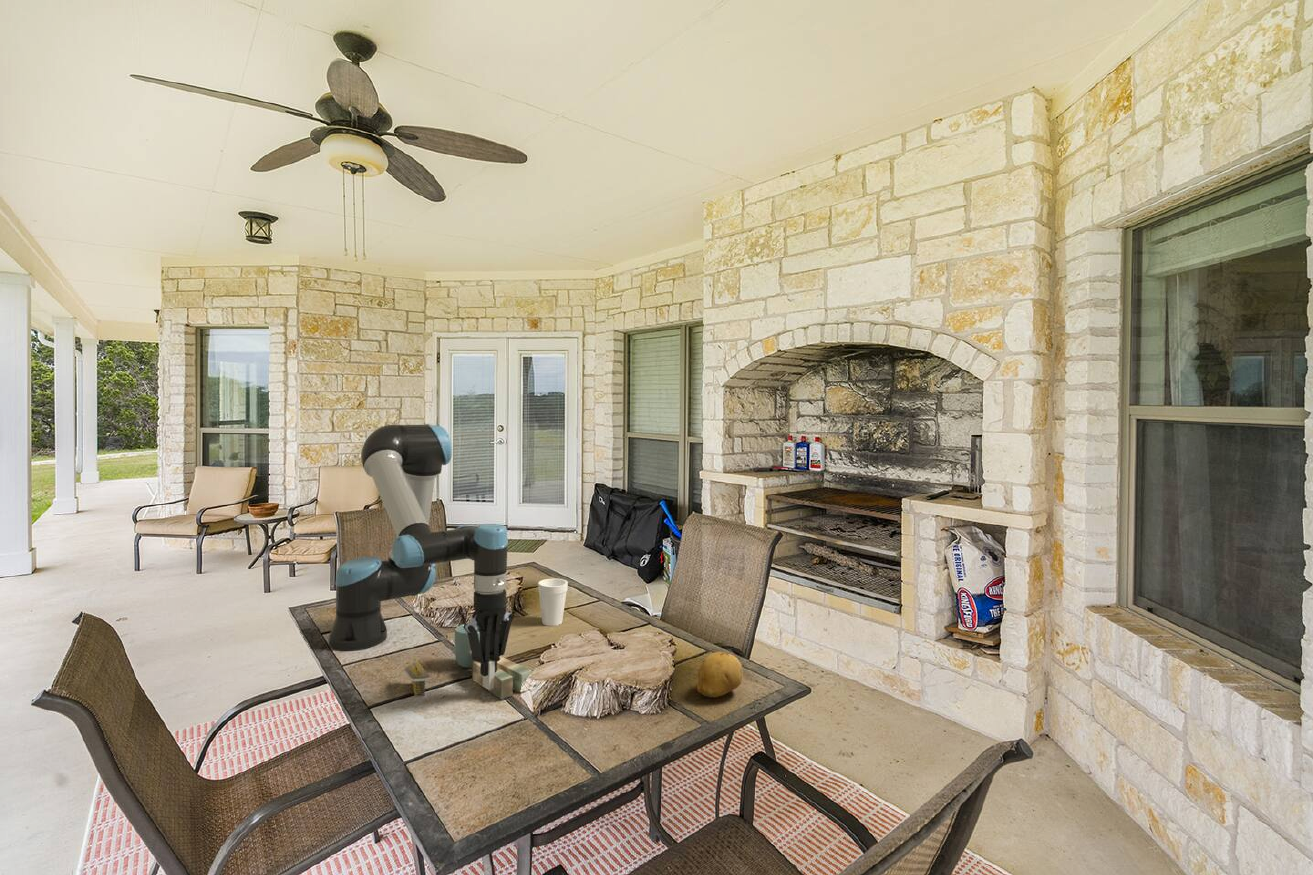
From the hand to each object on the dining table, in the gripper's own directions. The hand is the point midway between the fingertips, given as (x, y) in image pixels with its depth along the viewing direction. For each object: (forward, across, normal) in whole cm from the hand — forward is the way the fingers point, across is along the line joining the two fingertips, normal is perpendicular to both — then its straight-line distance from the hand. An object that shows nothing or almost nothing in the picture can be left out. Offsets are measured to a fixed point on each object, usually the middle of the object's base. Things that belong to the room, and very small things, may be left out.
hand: (488, 687), depth 145 cm
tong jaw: (+2, +3, +4) cm, 6 cm away
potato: (+2, +40, -40) cm, 56 cm away
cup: (+2, +6, +18) cm, 19 cm away
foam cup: (+1, +42, +27) cm, 50 cm away
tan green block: (+2, +6, +5) cm, 8 cm away
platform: (+3, -11, +15) cm, 18 cm away
